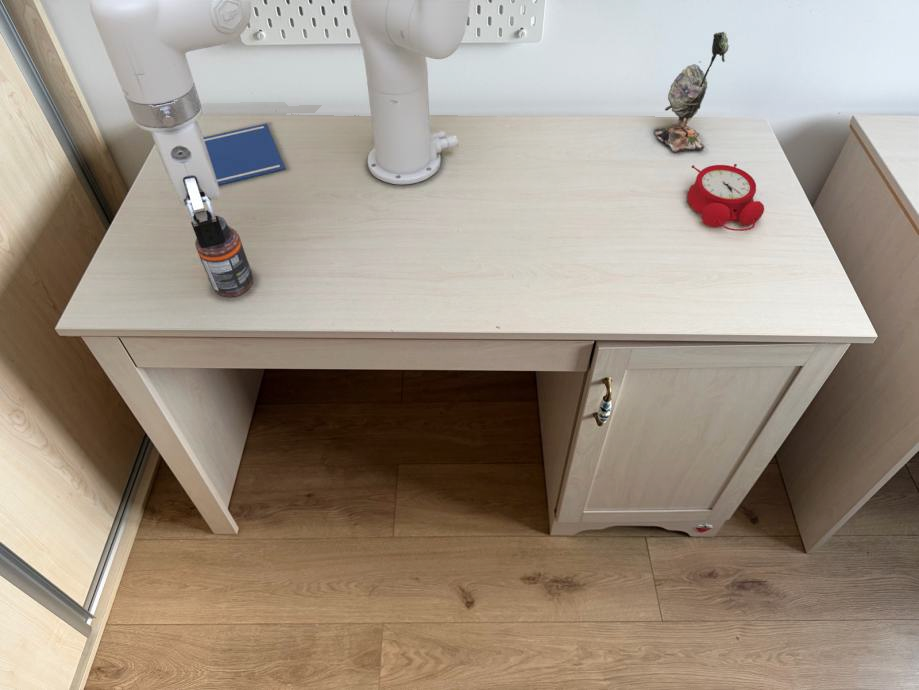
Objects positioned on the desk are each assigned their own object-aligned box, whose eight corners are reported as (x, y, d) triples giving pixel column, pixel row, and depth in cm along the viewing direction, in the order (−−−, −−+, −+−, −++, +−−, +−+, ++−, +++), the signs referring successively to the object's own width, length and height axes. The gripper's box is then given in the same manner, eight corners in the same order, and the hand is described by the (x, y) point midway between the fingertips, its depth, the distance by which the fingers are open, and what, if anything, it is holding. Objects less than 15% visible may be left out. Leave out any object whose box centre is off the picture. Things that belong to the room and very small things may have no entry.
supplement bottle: (221, 268, 101) (198, 208, 92) (260, 271, 100) (240, 211, 92) (206, 296, 97) (181, 237, 88) (246, 300, 97) (224, 241, 88)
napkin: (266, 124, 125) (266, 123, 125) (285, 169, 116) (285, 167, 116) (184, 143, 122) (183, 141, 121) (197, 190, 113) (196, 189, 113)
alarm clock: (745, 159, 111) (784, 198, 99) (736, 194, 115) (773, 236, 103) (682, 161, 111) (714, 201, 99) (676, 196, 115) (706, 239, 103)
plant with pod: (692, 119, 125) (724, 9, 110) (706, 155, 118) (742, 43, 103) (649, 119, 125) (674, 10, 110) (660, 155, 118) (689, 43, 103)
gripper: (210, 135, 72) (248, 255, 85) (187, 62, 82) (224, 179, 95) (137, 150, 70) (187, 270, 83) (123, 73, 81) (169, 191, 94)
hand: (207, 221), depth 89 cm, fingers open, 9 cm apart
